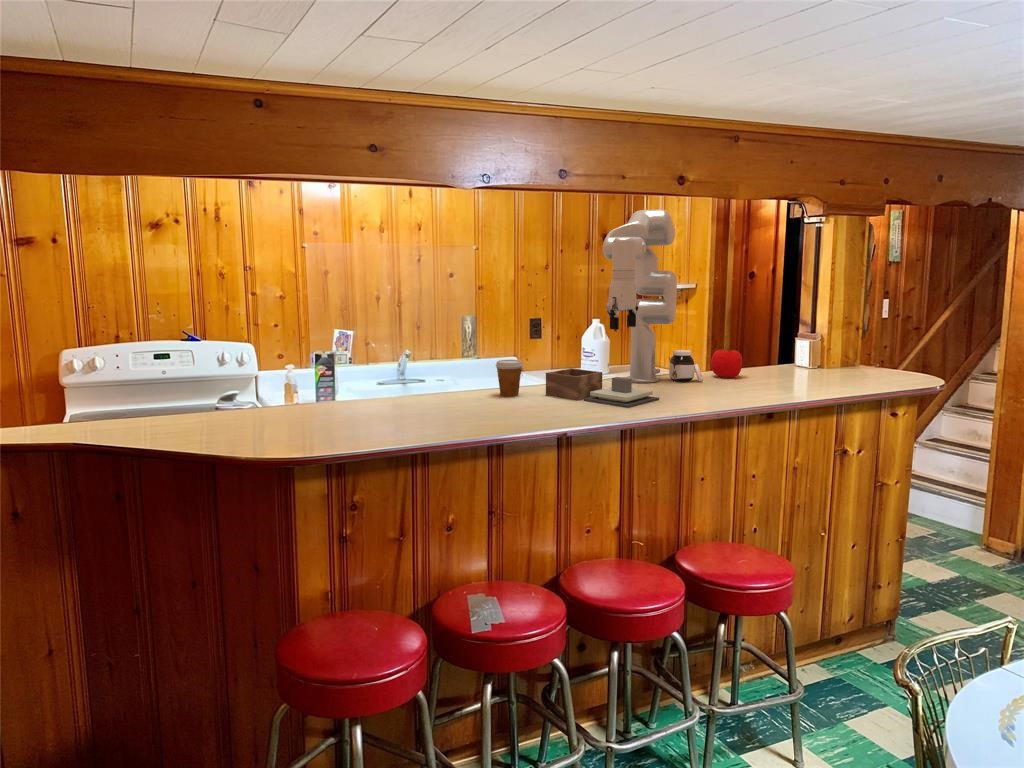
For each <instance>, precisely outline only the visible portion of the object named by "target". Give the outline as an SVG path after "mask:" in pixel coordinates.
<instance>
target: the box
mask: <svg viewBox="0 0 1024 768" xmlns="http://www.w3.org/2000/svg"><path fill="white" fill-rule="evenodd" d="M601 389H603V371H595V370H589V369H588V370H587V369H581V368H580V369H579V368H572V367H570V368H565V369H559V370H554V371H549V372H545V396H547V397H552V398H558V399H559V398H561V399H566V400H571V401H581V400H584V398H588V397H592V396H590V392H592V391H596V390H601Z"/></svg>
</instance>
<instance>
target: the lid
mask: <svg viewBox="0 0 1024 768" xmlns="http://www.w3.org/2000/svg"><path fill="white" fill-rule="evenodd" d="M632 383H633V382H632V379H630V378H626V377H621V376H620V377H619V376H615V377H611V386H610V387H607V388H602V389H601V390H596V391H592V392H590V396H597V397H598V398H600V399H606V400H613V401H619V402H629V401H633V400H637V399H641V398H644V397H646V396H653V395H654V391H653V390H647V389H639V388H634V387H633V386H632ZM632 387H633V388H632Z"/></svg>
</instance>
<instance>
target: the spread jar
mask: <svg viewBox="0 0 1024 768" xmlns="http://www.w3.org/2000/svg"><path fill="white" fill-rule="evenodd" d="M691 355H692V350H688V349H676V350H674V349H673V351H672V356H671V357H670V359H669V364H668V365H669V366H668V376H669V378H670V380H671V381H672V382H674V381H675V383H689V382H692V381H693V379H694V377H695V374H696V378H697V380H698V381H699V382H703V375H702V373H701V369H700V367H699V364H698V363H696V364H695V360H694V359H693V357H692V356H691Z"/></svg>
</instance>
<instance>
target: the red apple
mask: <svg viewBox="0 0 1024 768" xmlns="http://www.w3.org/2000/svg"><path fill="white" fill-rule="evenodd" d="M742 367H743V356H742V354H741V353H740V352H739V351H738V350H736V349H730V348H727V349H723V348H720V349H718V350H715V351H714V352H713V354H712V356H711V359H710V368H711V371H712V372H713V374H714V375H716V376H717V377H720V378H727V379H732V378H736V377H738V376H739V375H740V374H741V371H742Z"/></svg>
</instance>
